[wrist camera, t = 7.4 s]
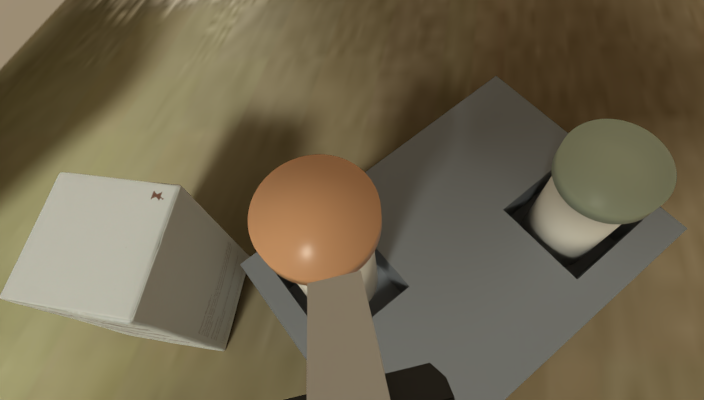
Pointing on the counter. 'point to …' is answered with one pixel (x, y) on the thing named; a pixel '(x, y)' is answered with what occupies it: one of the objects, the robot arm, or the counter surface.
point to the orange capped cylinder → (317, 221)
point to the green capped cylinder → (599, 187)
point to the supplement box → (131, 261)
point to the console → (477, 252)
